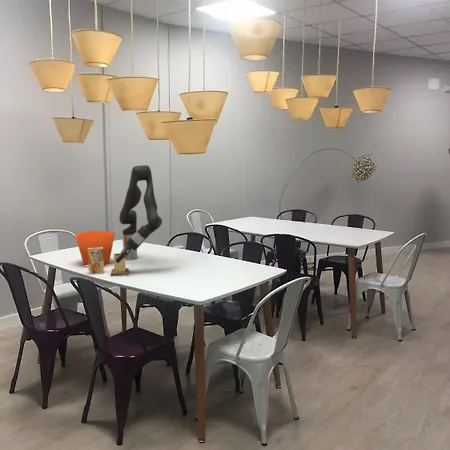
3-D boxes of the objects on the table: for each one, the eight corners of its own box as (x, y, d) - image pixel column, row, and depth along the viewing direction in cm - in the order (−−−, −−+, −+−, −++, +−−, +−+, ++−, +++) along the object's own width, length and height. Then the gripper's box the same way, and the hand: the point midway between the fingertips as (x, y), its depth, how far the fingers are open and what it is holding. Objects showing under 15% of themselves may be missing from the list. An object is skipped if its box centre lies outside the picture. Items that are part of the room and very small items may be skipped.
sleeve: (114, 269, 295) (114, 253, 293) (125, 269, 296) (125, 253, 294) (114, 272, 289) (113, 255, 287) (125, 271, 290) (124, 255, 288)
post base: (111, 271, 297) (111, 256, 296) (128, 270, 299) (128, 255, 298) (110, 276, 286) (110, 260, 284) (128, 275, 287) (127, 259, 286)
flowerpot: (90, 258, 334) (88, 230, 331) (122, 260, 327) (121, 231, 324) (68, 266, 310) (67, 236, 307) (103, 269, 303) (102, 237, 300)
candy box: (104, 271, 297) (102, 247, 294) (104, 273, 293) (102, 248, 290) (88, 272, 294) (87, 247, 292) (88, 274, 290) (87, 249, 288)
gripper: (131, 234, 297) (112, 253, 297) (131, 238, 283) (111, 258, 283) (140, 242, 299) (122, 262, 299) (140, 247, 285) (121, 267, 285)
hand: (117, 260), depth 291 cm, fingers open, 8 cm apart
